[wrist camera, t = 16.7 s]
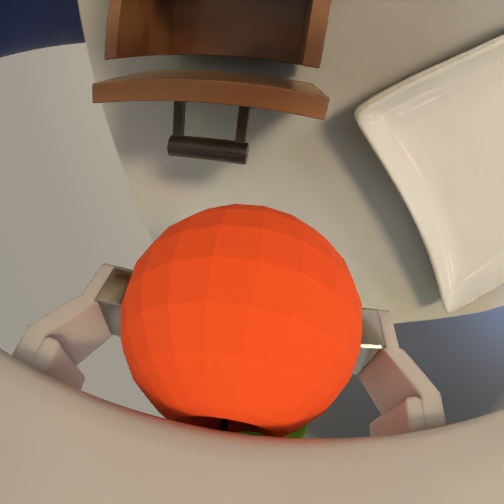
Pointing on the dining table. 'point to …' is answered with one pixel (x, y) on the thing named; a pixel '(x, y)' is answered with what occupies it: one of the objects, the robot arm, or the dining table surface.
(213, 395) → the clementine
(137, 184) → the dining table surface
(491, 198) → the square plate
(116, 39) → the drawer
